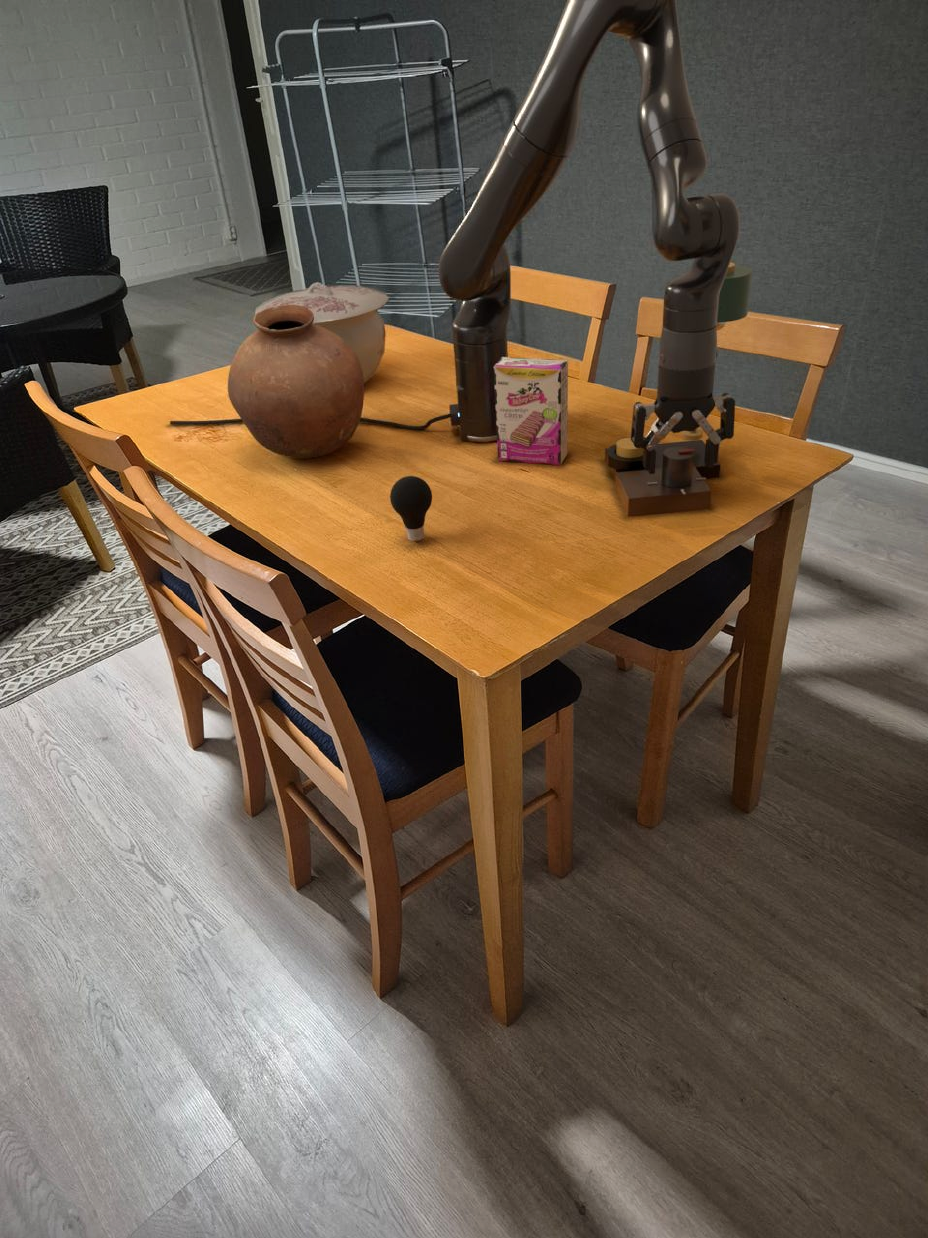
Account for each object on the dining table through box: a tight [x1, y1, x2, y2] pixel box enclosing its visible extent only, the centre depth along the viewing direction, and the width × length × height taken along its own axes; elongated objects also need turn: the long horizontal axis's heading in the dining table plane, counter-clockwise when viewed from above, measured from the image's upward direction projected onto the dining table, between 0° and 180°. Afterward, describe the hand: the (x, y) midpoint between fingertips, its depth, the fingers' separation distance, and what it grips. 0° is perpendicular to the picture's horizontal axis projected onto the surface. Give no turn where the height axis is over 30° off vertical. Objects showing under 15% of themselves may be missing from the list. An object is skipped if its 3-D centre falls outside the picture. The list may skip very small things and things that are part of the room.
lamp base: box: [604, 439, 721, 484], centre depth 135 cm, size 17×10×4 cm, turn 93°
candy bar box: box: [494, 356, 569, 466], centre depth 138 cm, size 11×5×16 cm, turn 71°
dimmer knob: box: [661, 447, 694, 488], centre depth 124 cm, size 4×4×5 cm
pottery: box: [227, 304, 365, 459], centre depth 145 cm, size 23×23×25 cm
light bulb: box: [389, 475, 433, 543], centre depth 119 cm, size 6×6×10 cm
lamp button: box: [615, 437, 643, 458], centre depth 133 cm, size 4×4×2 cm
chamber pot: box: [254, 282, 389, 384], centre depth 177 cm, size 28×28×21 cm
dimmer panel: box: [615, 465, 712, 518], centre depth 126 cm, size 12×9×3 cm
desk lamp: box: [681, 262, 753, 441], centre depth 128 cm, size 9×9×26 cm
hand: (679, 468), depth 124 cm, fingers open, 8 cm apart
